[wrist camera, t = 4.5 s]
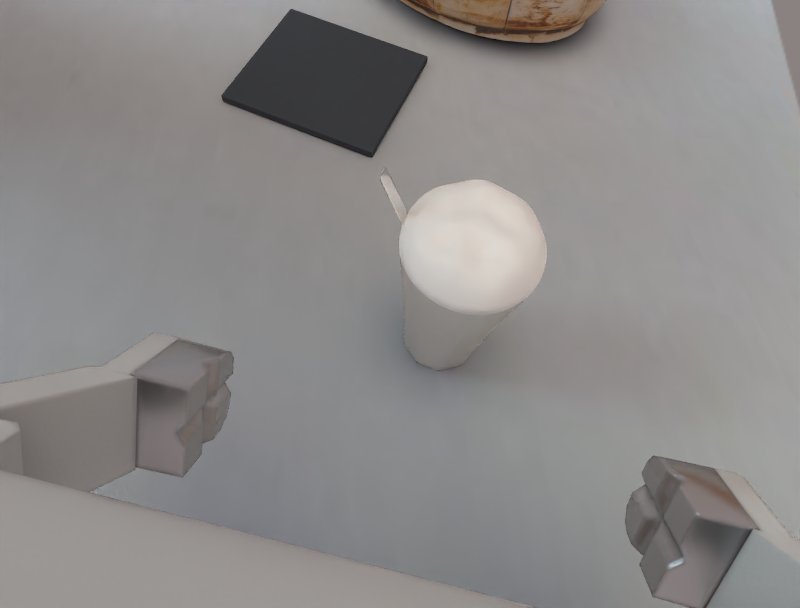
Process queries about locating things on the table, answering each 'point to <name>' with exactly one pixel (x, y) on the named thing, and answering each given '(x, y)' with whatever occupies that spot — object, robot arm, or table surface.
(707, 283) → the table surface
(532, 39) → the trinket box
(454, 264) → the milkshake
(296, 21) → the mat
